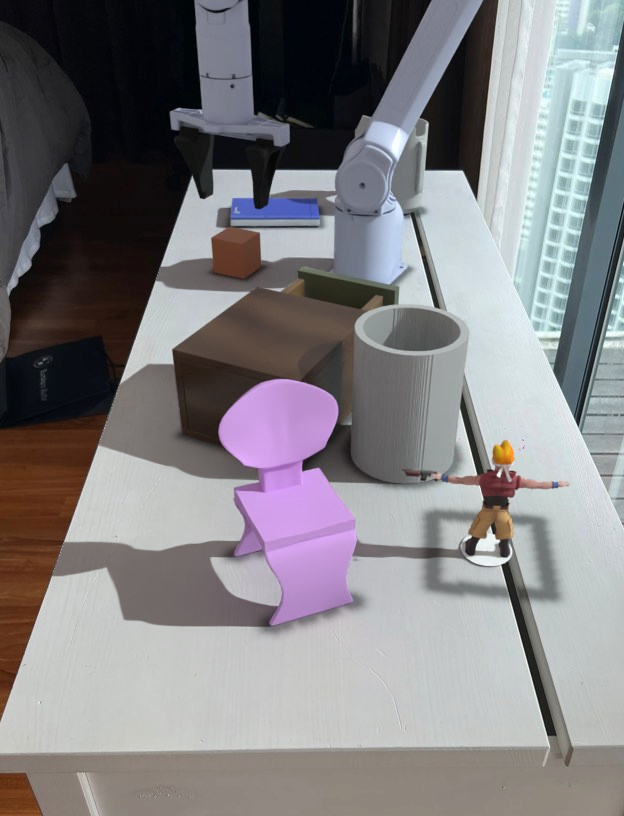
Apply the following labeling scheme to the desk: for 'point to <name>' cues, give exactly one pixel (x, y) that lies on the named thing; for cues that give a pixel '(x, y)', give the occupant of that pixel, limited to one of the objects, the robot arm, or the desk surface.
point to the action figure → (491, 506)
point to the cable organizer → (408, 166)
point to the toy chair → (291, 494)
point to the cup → (406, 390)
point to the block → (236, 252)
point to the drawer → (343, 289)
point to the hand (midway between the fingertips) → (233, 201)
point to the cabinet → (263, 356)
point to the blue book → (275, 212)
